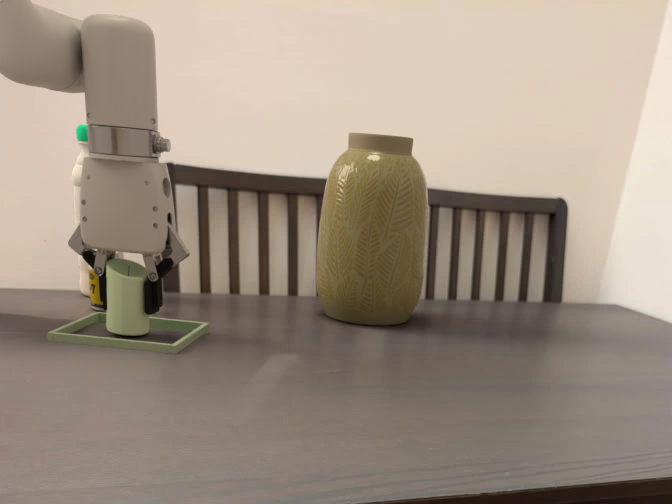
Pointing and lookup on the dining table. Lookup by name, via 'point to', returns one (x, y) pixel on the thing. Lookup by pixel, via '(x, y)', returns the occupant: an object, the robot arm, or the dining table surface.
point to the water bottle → (76, 180)
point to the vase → (373, 232)
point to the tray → (157, 323)
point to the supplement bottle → (96, 289)
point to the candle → (126, 298)
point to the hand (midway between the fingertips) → (131, 309)
